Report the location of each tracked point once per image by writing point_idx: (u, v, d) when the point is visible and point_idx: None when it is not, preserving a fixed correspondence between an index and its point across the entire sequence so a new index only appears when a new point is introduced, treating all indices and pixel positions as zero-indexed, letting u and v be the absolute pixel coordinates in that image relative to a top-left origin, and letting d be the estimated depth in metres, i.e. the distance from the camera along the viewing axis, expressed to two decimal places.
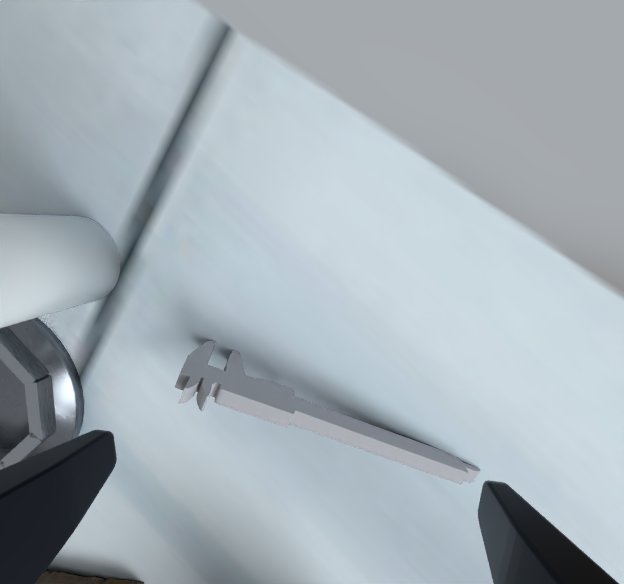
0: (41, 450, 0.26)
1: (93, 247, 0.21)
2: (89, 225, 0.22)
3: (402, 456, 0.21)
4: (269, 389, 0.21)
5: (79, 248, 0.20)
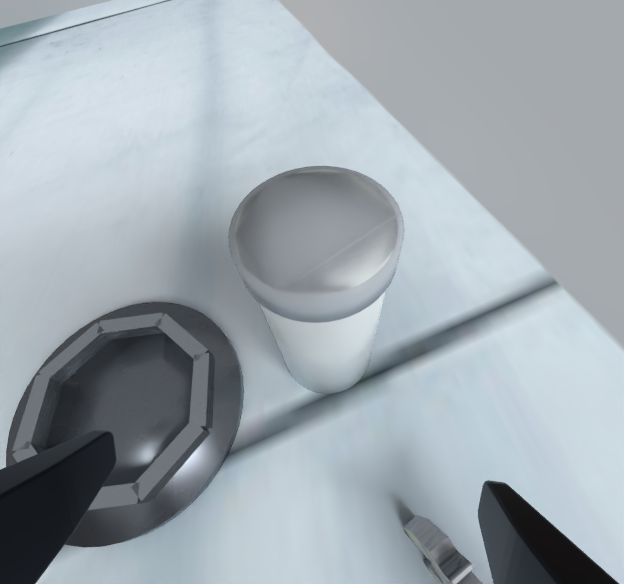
0: (106, 514, 0.19)
1: None
2: None
3: None
4: None
5: None
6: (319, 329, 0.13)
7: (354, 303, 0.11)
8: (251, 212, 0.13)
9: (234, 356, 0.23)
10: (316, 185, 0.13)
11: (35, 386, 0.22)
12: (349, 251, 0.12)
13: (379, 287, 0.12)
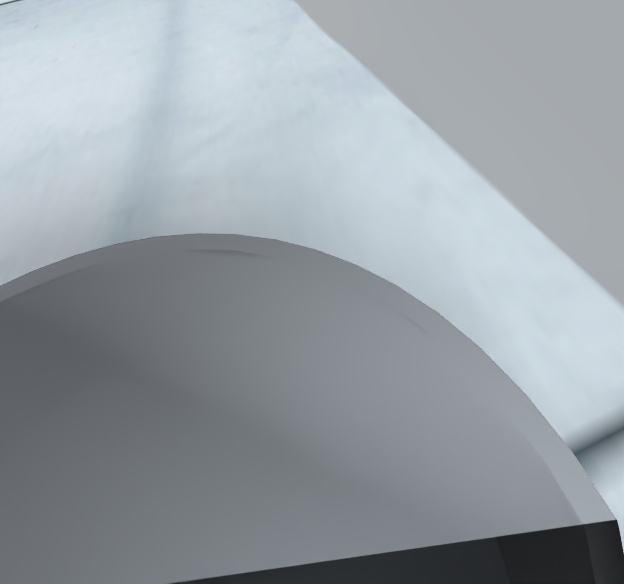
0: None
1: None
2: None
3: None
4: None
5: None
6: None
7: None
8: None
9: None
10: (172, 337, 0.03)
11: None
12: None
13: None
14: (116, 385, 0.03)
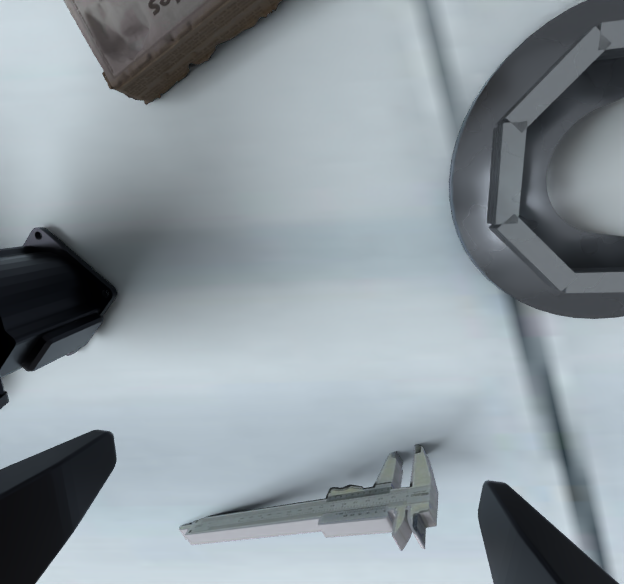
0: (482, 176, 0.17)
1: None
2: None
3: (232, 535, 0.23)
4: None
5: None
6: None
7: None
8: None
9: None
10: None
11: None
12: None
13: None
14: None
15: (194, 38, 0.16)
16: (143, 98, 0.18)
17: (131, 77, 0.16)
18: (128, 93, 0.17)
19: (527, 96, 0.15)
